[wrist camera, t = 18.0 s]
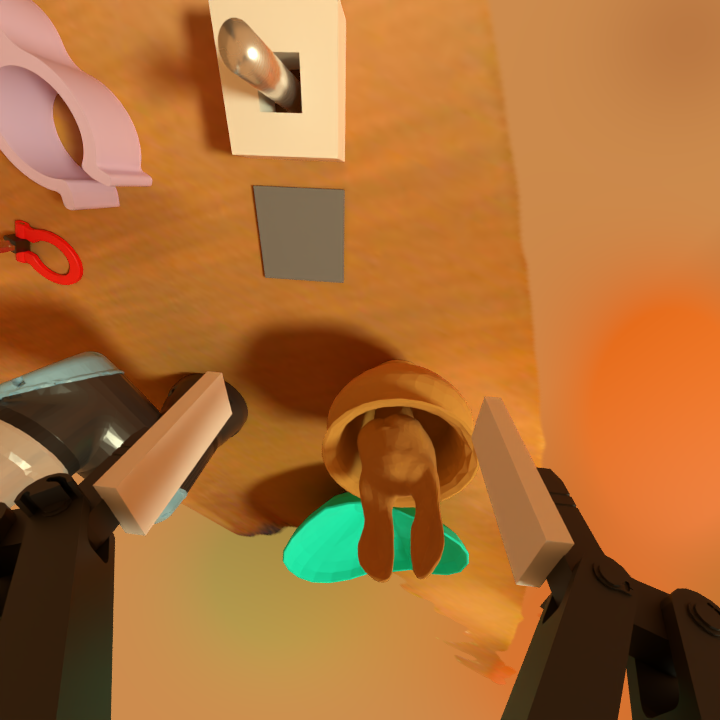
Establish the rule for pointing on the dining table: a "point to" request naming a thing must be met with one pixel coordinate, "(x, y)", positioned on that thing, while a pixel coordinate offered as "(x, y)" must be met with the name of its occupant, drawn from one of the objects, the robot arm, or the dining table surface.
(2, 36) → the clip
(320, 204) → the rubber mat
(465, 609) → the dining table surface
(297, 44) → the hole block
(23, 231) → the tow hook
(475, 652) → the dining table surface
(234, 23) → the steel pin
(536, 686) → the robot arm
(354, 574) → the table top decor
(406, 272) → the dining table surface
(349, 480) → the decorative bowl
